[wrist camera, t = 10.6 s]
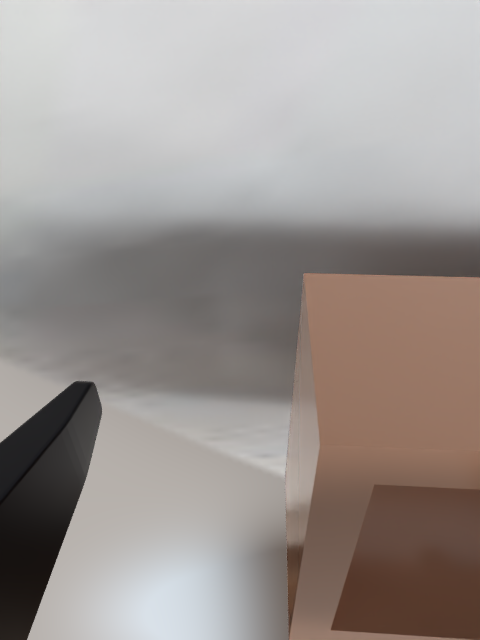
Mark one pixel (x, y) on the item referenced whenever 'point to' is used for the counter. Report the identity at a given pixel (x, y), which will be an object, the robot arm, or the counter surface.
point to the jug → (385, 460)
